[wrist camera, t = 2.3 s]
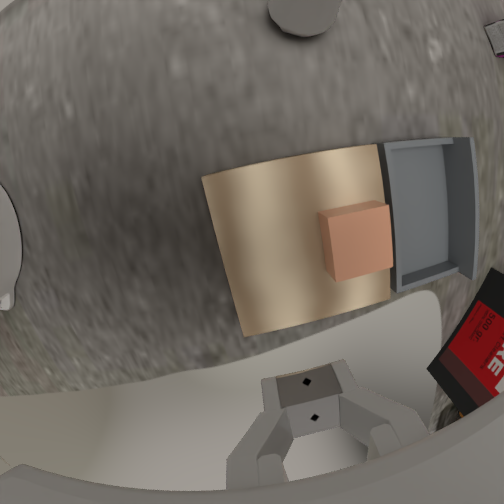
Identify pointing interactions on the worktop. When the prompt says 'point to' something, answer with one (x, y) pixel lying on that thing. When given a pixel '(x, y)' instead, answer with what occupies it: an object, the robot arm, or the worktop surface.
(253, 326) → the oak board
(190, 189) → the worktop surface
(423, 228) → the tray
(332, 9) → the salt shaker
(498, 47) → the candy bar box
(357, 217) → the terracotta tile
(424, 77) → the worktop surface
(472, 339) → the cleaning product box
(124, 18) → the worktop surface
